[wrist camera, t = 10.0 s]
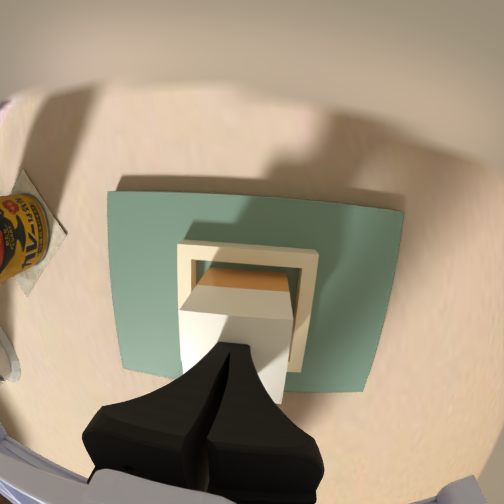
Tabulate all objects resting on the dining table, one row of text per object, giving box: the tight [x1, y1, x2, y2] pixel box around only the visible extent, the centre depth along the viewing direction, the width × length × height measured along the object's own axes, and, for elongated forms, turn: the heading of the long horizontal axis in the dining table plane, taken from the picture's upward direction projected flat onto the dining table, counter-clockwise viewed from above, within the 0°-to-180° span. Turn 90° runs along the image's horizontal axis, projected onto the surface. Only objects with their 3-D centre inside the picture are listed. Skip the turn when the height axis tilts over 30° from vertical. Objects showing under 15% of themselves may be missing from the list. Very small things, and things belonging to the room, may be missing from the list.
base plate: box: [107, 191, 404, 392], centre depth 17 cm, size 18×13×2 cm
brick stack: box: [179, 267, 293, 404], centre depth 15 cm, size 4×4×6 cm
